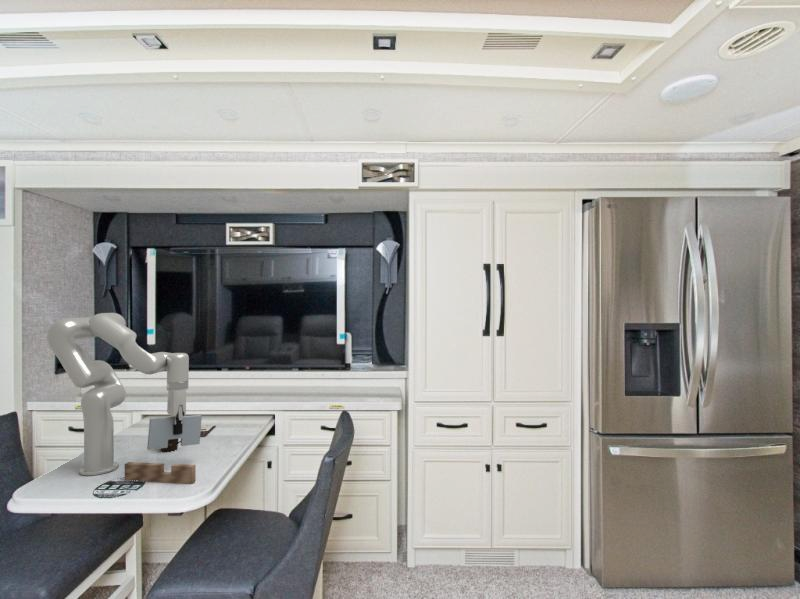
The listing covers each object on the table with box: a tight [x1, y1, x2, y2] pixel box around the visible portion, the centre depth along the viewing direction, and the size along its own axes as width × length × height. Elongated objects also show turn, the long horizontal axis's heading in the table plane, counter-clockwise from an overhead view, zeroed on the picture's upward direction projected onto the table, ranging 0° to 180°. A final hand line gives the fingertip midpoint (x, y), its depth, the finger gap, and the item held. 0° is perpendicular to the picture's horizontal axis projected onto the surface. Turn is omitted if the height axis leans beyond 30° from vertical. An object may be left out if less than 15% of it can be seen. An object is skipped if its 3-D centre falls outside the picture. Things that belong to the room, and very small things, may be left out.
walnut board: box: [124, 461, 197, 485], centre depth 166 cm, size 26×2×6 cm, turn 83°
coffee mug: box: [160, 439, 181, 453], centre depth 200 cm, size 12×9×10 cm
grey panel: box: [146, 414, 203, 451], centre depth 178 cm, size 18×2×11 cm, turn 128°
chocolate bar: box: [200, 425, 216, 438], centre depth 229 cm, size 9×1×18 cm
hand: (176, 433), depth 178 cm, fingers closed on grey panel, 1 cm apart
